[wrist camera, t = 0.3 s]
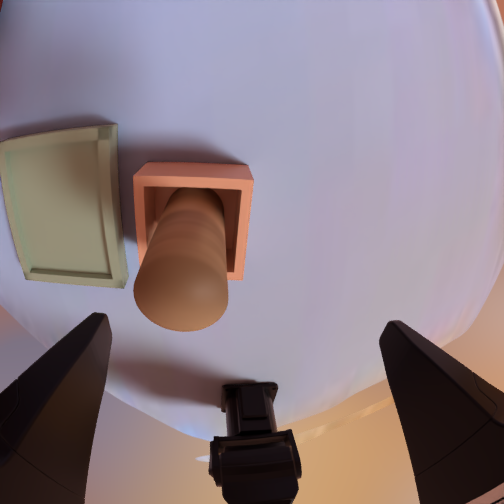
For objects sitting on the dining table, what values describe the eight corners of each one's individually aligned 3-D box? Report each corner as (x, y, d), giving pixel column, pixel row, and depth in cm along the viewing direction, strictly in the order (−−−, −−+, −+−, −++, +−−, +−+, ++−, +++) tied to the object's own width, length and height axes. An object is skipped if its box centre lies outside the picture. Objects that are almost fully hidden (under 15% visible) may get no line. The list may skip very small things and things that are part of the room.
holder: (239, 252, 22) (242, 280, 19) (151, 249, 21) (141, 276, 18) (248, 165, 18) (253, 180, 16) (147, 161, 18) (133, 176, 15)
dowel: (222, 239, 21) (225, 333, 13) (166, 237, 20) (140, 329, 12) (226, 185, 19) (231, 258, 11) (165, 183, 18) (127, 254, 10)
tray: (128, 276, 22) (123, 288, 21) (33, 269, 21) (25, 279, 19) (117, 123, 16) (109, 126, 15) (9, 138, 15) (-3, 143, 13)
